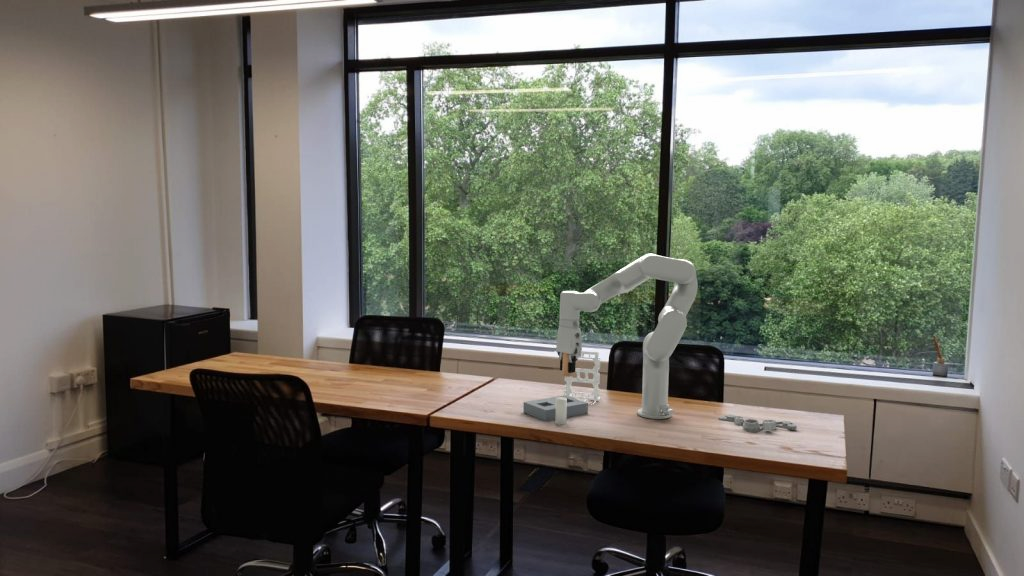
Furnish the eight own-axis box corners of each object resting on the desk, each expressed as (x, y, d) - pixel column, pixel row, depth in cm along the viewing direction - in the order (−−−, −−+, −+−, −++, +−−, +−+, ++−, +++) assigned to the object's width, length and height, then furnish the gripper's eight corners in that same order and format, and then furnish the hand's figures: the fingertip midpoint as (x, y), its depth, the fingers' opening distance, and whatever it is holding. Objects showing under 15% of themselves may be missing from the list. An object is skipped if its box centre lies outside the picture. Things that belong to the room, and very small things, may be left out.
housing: (587, 413, 270) (588, 402, 270) (545, 421, 259) (545, 410, 259) (564, 405, 282) (564, 395, 281) (523, 412, 270) (523, 401, 270)
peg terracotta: (566, 377, 268) (567, 353, 268) (559, 375, 272) (560, 351, 271) (574, 375, 271) (575, 352, 270) (567, 373, 274) (568, 350, 273)
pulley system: (791, 441, 242) (798, 427, 255) (791, 427, 242) (798, 415, 255) (710, 431, 257) (721, 418, 269) (710, 418, 256) (721, 406, 269)
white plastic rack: (559, 402, 286) (560, 353, 284) (568, 394, 299) (569, 347, 297) (595, 406, 282) (596, 355, 280) (602, 398, 295) (603, 350, 293)
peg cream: (568, 423, 256) (569, 399, 255) (559, 425, 254) (560, 400, 253) (561, 421, 259) (562, 396, 258) (553, 422, 257) (553, 398, 256)
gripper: (591, 326, 265) (589, 374, 267) (562, 320, 278) (560, 366, 280) (576, 327, 260) (574, 376, 262) (547, 321, 274) (545, 368, 276)
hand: (567, 370), depth 271 cm, fingers closed on peg terracotta, 4 cm apart
